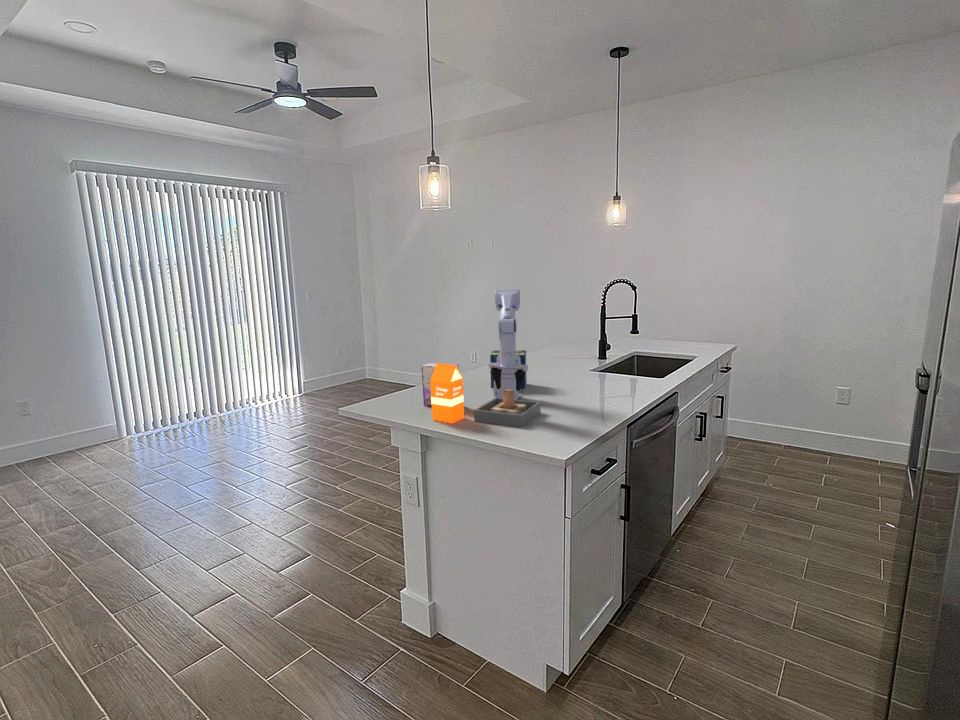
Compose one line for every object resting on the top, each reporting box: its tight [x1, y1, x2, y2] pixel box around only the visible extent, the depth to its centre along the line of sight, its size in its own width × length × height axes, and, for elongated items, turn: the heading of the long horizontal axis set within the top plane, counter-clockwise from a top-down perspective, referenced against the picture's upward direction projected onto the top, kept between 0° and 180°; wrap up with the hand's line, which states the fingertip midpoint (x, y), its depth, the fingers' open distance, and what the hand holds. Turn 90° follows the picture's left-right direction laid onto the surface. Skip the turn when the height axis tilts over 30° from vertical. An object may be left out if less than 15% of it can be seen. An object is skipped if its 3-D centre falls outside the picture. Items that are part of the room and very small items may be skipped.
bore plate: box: [490, 402, 527, 415], centre depth 187 cm, size 10×10×2 cm
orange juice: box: [430, 362, 465, 424], centre depth 182 cm, size 8×9×20 cm
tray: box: [473, 398, 541, 428], centre depth 184 cm, size 18×18×4 cm
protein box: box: [489, 349, 528, 390], centre depth 228 cm, size 10×15×16 cm
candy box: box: [421, 362, 460, 407], centre depth 200 cm, size 14×6×16 cm, turn 65°
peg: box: [503, 389, 514, 410], centre depth 187 cm, size 4×4×8 cm
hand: (508, 389), depth 186 cm, fingers open, 7 cm apart
